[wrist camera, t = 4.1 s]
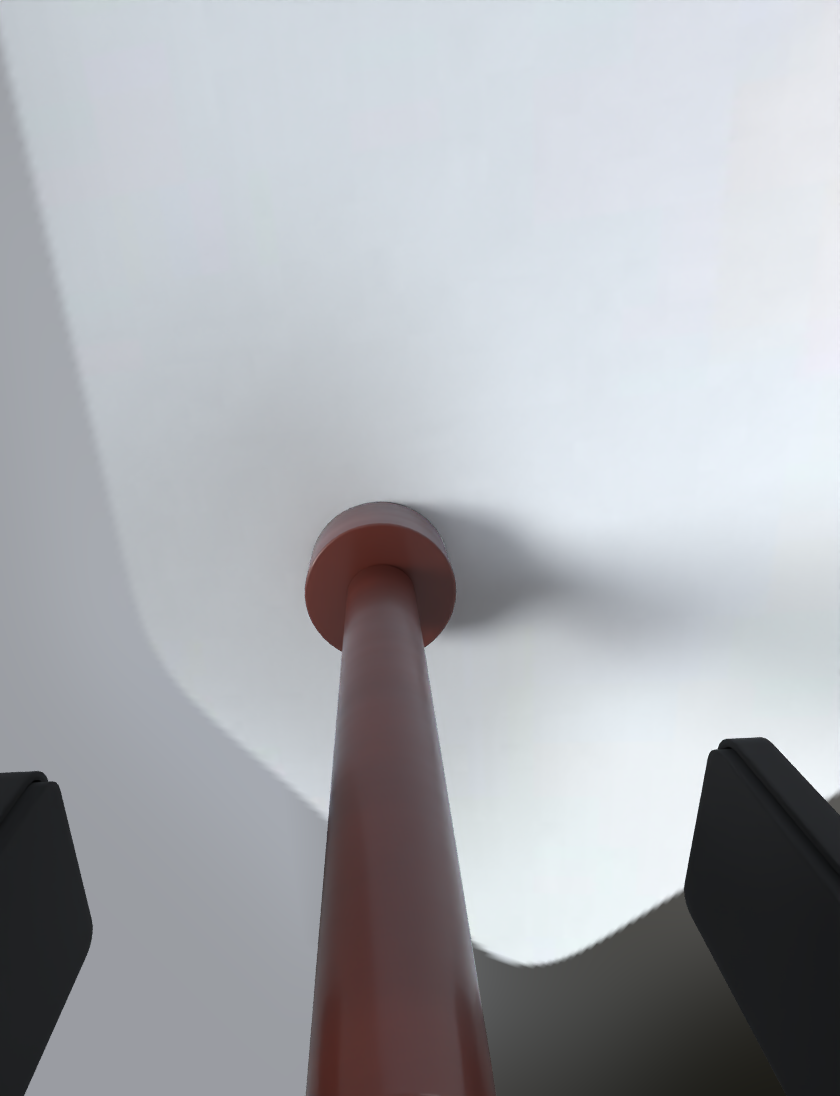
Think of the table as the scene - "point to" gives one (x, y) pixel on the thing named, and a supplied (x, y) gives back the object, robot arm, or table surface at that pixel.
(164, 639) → the table surface
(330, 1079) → the red capped peg
